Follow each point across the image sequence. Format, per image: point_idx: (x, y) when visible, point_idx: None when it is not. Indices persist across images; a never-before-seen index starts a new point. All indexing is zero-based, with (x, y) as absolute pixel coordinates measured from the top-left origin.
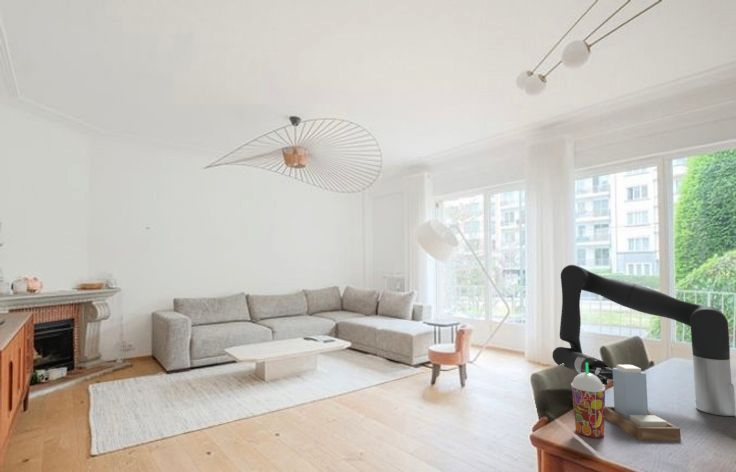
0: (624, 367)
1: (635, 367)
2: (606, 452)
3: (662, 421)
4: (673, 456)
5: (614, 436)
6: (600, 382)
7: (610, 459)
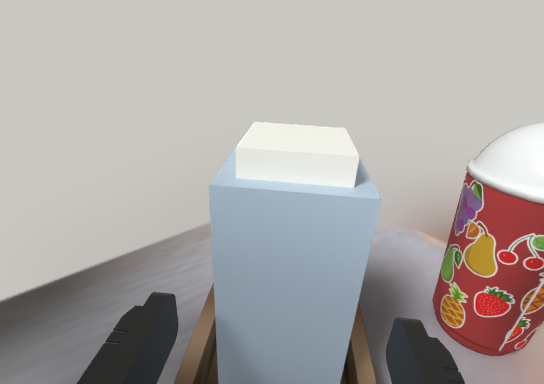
0: (341, 132)
1: (269, 128)
2: (438, 261)
3: None
4: None
5: (389, 322)
6: (493, 140)
7: (435, 243)
